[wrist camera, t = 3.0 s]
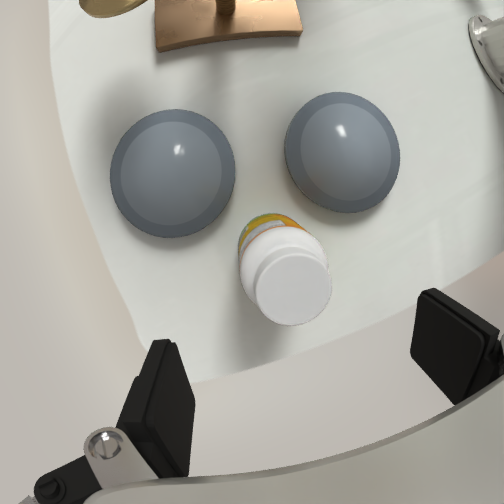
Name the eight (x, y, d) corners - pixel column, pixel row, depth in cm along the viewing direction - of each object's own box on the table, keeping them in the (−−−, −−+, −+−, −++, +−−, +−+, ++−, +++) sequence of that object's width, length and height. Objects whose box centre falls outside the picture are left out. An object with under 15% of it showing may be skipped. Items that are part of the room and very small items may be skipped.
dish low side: (226, 102, 20) (225, 98, 19) (243, 224, 23) (243, 227, 21) (109, 129, 20) (103, 127, 18) (127, 243, 22) (122, 246, 21)
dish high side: (384, 98, 20) (391, 94, 19) (396, 205, 23) (404, 207, 22) (276, 97, 20) (278, 93, 19) (292, 217, 23) (295, 220, 21)
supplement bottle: (312, 259, 24) (356, 311, 14) (254, 285, 24) (267, 352, 15) (288, 201, 22) (326, 221, 13) (227, 229, 23) (222, 268, 13)
